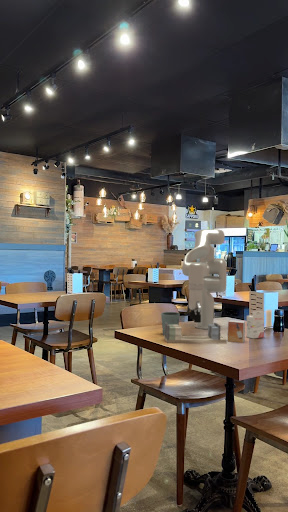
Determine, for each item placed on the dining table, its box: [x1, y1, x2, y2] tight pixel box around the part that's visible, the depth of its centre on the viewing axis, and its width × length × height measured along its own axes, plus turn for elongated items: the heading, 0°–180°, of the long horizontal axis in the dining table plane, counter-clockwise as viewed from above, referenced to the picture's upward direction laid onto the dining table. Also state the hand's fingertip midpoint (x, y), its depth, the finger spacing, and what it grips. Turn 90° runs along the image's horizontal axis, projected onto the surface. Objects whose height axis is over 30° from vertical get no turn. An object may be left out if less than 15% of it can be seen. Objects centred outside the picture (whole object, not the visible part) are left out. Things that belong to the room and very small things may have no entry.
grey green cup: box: [160, 311, 181, 336], centre depth 232 cm, size 10×10×12 cm
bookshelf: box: [163, 322, 228, 345], centre depth 216 cm, size 11×30×9 cm, turn 96°
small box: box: [227, 319, 246, 344], centre depth 219 cm, size 8×6×10 cm
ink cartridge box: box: [246, 310, 265, 339], centre depth 231 cm, size 9×5×15 cm, turn 117°
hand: (195, 320), depth 216 cm, fingers open, 9 cm apart
